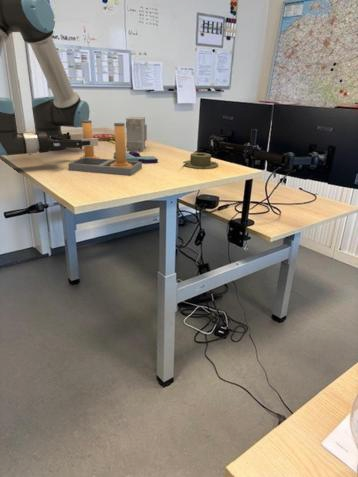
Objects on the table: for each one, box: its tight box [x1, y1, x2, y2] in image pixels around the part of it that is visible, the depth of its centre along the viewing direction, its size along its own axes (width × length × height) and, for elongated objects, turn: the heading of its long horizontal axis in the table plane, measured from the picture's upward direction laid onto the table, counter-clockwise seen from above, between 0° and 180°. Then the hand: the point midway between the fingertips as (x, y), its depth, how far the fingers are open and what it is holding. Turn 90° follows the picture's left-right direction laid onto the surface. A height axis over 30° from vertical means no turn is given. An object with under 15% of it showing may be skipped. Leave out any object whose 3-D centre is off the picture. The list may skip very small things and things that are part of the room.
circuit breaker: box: [125, 116, 148, 153], centre depth 174 cm, size 8×14×15 cm, turn 174°
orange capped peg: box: [110, 122, 132, 168], centre depth 128 cm, size 8×8×17 cm
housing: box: [67, 156, 143, 176], centre depth 132 cm, size 24×12×4 cm, turn 77°
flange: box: [182, 152, 219, 170], centre depth 148 cm, size 5×15×15 cm
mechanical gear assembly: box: [92, 133, 115, 145], centre depth 196 cm, size 30×4×15 cm
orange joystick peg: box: [79, 119, 100, 159], centre depth 143 cm, size 8×8×17 cm
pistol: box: [113, 151, 159, 165], centre depth 147 cm, size 4×16×15 cm
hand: (91, 139), depth 143 cm, fingers open, 13 cm apart
